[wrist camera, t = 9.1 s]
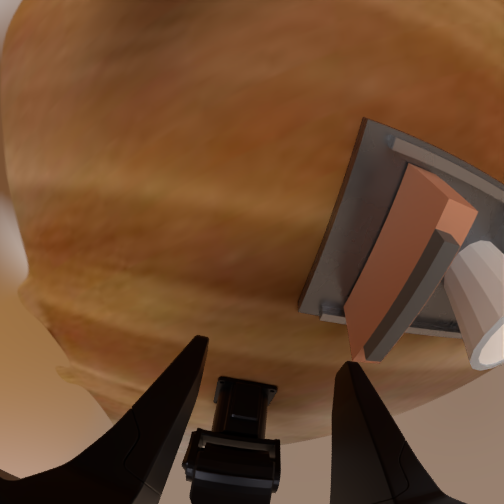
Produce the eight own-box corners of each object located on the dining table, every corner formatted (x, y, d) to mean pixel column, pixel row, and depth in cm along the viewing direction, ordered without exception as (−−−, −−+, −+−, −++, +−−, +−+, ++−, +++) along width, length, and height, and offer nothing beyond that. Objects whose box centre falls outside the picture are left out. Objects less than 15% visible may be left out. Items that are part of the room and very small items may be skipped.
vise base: (480, 330, 22) (499, 374, 17) (298, 302, 22) (298, 368, 17) (550, 218, 14) (588, 256, 9) (363, 116, 14) (404, 139, 9)
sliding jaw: (367, 310, 20) (382, 376, 15) (343, 306, 20) (354, 374, 15) (435, 174, 14) (489, 222, 9) (408, 163, 14) (460, 209, 9)
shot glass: (465, 221, 15) (520, 289, 9) (515, 245, 15) (560, 303, 10) (421, 297, 19) (450, 372, 13) (474, 308, 19) (504, 370, 13)
